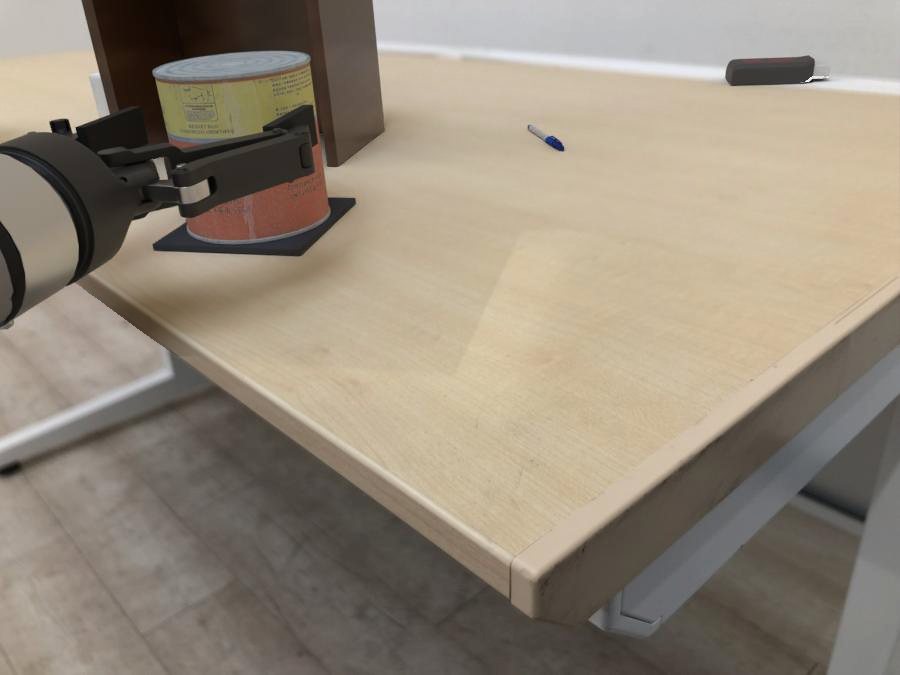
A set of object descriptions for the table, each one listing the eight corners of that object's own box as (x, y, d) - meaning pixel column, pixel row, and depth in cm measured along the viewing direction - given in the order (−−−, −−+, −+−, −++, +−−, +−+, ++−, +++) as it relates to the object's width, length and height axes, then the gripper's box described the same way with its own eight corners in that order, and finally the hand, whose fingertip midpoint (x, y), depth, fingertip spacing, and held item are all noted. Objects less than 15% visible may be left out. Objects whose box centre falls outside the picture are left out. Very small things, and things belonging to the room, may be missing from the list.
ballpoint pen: (567, 151, 79) (567, 141, 79) (559, 152, 79) (559, 142, 79) (531, 129, 88) (531, 120, 88) (523, 130, 88) (523, 121, 88)
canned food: (287, 189, 71) (265, 46, 65) (357, 216, 63) (339, 57, 58) (164, 221, 65) (128, 67, 59) (226, 256, 57) (191, 82, 51)
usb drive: (724, 78, 107) (727, 56, 106) (819, 75, 105) (823, 53, 104) (730, 85, 103) (733, 63, 102) (830, 82, 101) (833, 59, 100)
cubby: (121, 164, 85) (63, -72, 74) (194, 130, 97) (152, -75, 87) (338, 166, 79) (306, -89, 69) (385, 130, 92) (364, -90, 81)
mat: (153, 250, 61) (151, 243, 60) (228, 200, 71) (227, 194, 71) (300, 255, 58) (299, 249, 57) (356, 203, 68) (355, 197, 68)
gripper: (-152, 283, 44) (87, 173, 62) (261, 305, 38) (392, 177, 57) (-211, 147, 41) (60, 73, 59) (233, 149, 35) (382, 66, 53)
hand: (223, 124), depth 58 cm, fingers open, 13 cm apart
